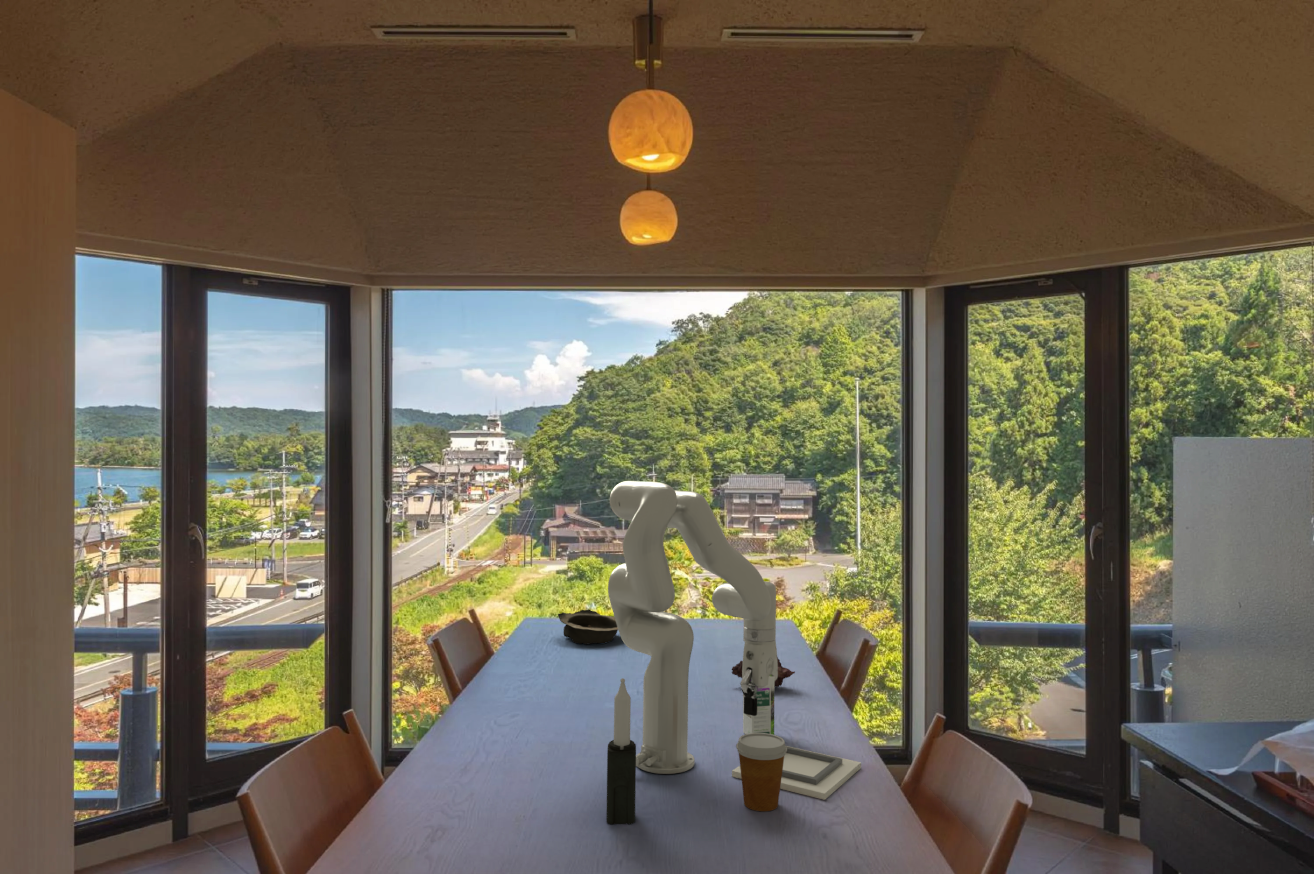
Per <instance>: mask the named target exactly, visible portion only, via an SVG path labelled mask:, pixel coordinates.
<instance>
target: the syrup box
mask: <svg viewBox="0 0 1314 874" xmlns="http://www.w3.org/2000/svg"><path fill="white" fill-rule="evenodd" d="M750 683H751V684H755V683H754V680H753V677H751V680H750ZM749 688H750V689H751V690H752V692H753V688H754V687H749ZM742 697H743V696H742ZM755 698H757V715H756V716H752V715H747V714H744V697H743V698H742V702H743V703H742V706H743V707H742V708H743V710H742V715H743V719H742V725H743V726H742V732H743V734H744V735H745V734H749V733H767V734H773V735H775V688H774V676H773V675H770V676H769V677H768V685H766V686H764V687H762V688H760V687H758V690H757V694H756V697H755Z"/></svg>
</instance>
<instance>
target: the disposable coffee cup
mask: <svg viewBox="0 0 1314 874" xmlns="http://www.w3.org/2000/svg"><path fill="white" fill-rule="evenodd" d="M786 746H787V745H786V742H785V740H784V738H783V737H781V736H778V735H776V734H774V735H773V734H767V733H749V734H745V733H744V734H743V735H740V736H739V737H738V742H737V743H736V746H735V747H736V750H737V753H738V757H739V758H738V759H739V766H740V769H741V778H742V779H741V786H742V787H741V788H742V794H743V804H744V807H746V808H748V809H750V810H752V811H755V812H756V811H757V812H770V811H774V810H775V809H777V808H778V807H779V805H778V804H779V799H780V791H781V789H780V786H781V778H782V770H783V763H784V756H785V754H786V752H787V747H786Z"/></svg>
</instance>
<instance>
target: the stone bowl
mask: <svg viewBox="0 0 1314 874" xmlns="http://www.w3.org/2000/svg"><path fill="white" fill-rule="evenodd" d="M557 617H558V619H559V621H560V622H561V623H562V624H564V627H563V636H564V637H566V638H569V639H571V640H572V642H573V643H575V644H577V643H579V645H582V643H583V644H584V645H592V644H600V643H605V644H606V643H609V642H612V641H613V640H614V638H615V637H616V635H617V633H618V632H619V630H618V627H617V624H616V620H615V617H614V616H611V615H605V614H604V615H602V614H600V613H599V612H597V611H594V610H591V609H581V610H579V611H576V612H573V613H571V612H569V613H567V612H561V613H558V614H557Z"/></svg>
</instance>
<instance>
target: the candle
mask: <svg viewBox="0 0 1314 874" xmlns="http://www.w3.org/2000/svg"><path fill="white" fill-rule="evenodd" d="M625 682H626V679H625V678H621V679H620V684H619V687H618V690H617V693H616V694H615V696H614V700H613V703H614V704H613V705H614V706H613V707H614V709H613V711H614V712H613V713H614V714H613V739H612V740H610V741H609V743H608V744H607V753H606V754H607V759H606V761H607V762H606V814H605V815H606V816H605V817H606V819H605V820H606V821H605V822H606V823H607V824H609V825H634V824H635V822H636V781H637V779H636V777H637V775H636V773H637V771H636V770H637V766H636V755H637V744H636V743H635V741H633V740H631V703H632V699H631V695H630V694H629V692H628V690H627V686H626V683H625Z"/></svg>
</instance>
